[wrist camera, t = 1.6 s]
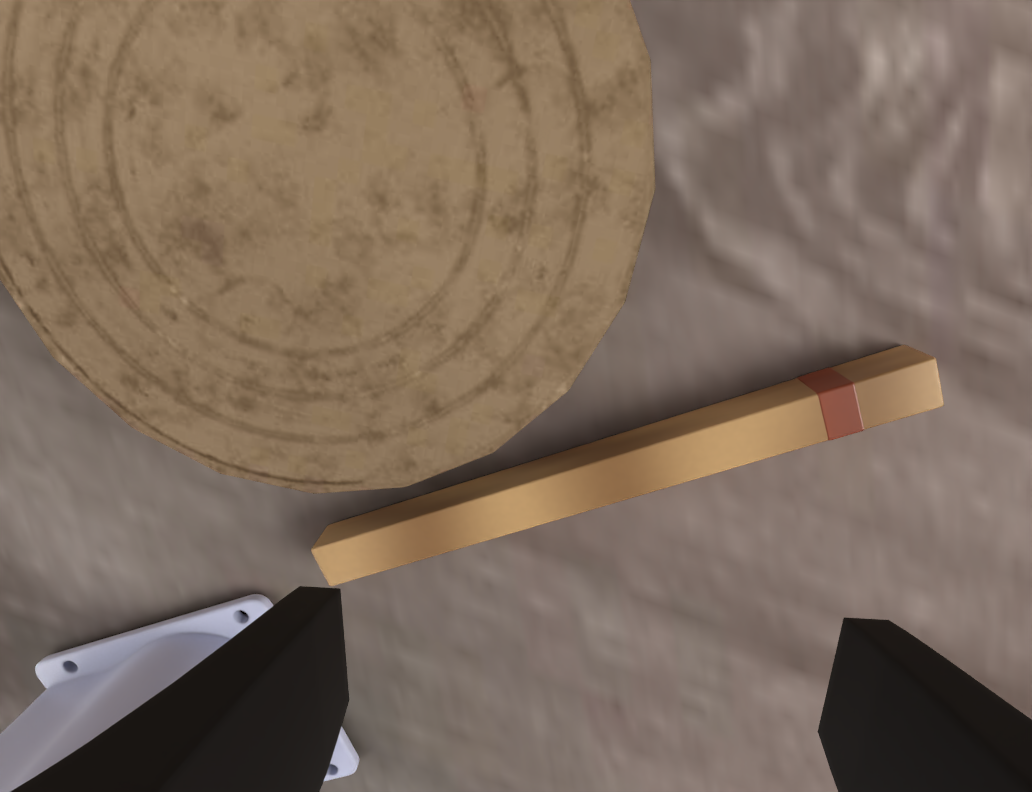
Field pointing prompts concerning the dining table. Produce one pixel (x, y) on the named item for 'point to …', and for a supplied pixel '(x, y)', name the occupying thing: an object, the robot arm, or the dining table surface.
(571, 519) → the dining table surface
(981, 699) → the robot arm
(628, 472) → the rail
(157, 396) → the tin can
